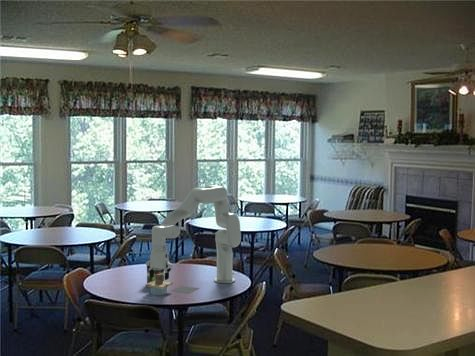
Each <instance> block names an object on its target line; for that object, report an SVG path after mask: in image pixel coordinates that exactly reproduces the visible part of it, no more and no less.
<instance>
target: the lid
mask: <svg viewBox="0 0 475 356" xmlns="http://www.w3.org/2000/svg"><path fill="white" fill-rule="evenodd" d="M172 285H174V284H173V281H168V280H164V281H163V274H156V275H155V281H152V282H150V283H148V284H147V283H145V284H144V286H145V288H146V287H147V288H151V287H152V288H159V289H163V288H166V287H167V288H168V287H171V286H172Z"/></svg>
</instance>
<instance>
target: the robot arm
mask: <svg viewBox="0 0 475 356" xmlns="http://www.w3.org/2000/svg"><path fill="white" fill-rule="evenodd" d="M227 196H228V191H227V189H226V187H224V186H222V185H214V184H208V185H205V186H204V188H201V187H194V188H192V189H191V190H190V191H189V193H188V194H187V195H186V197H185V198H184V200H183V201H182V202H181V203H180V205H178V207H176V208H175V209H174V210H173V211H171V212H170V213H168V215H167V216H166V217H165V218H164V219H163V220H162V222H160V225H153V226H152V228H151V251H150V256H149V259H148V260H149V261H148V260H146V262H145V266H146V269H147V268H148V269H149V271H150V278H152V277H154V270H153V269H154V268H156V269H164V281H168V280H169V278H170V272H171V270H173V269H172V268H174V267H173V266H174V265H173V264H172V263H171V262H170V259H169V253H168V252H169V251H168V246H167V245H166V243H167V242H166V241H167V240H166V239H176V238H178V237H180V234H181V229H180V227H179V226H178V225H176V224H177V223H178V222H180V221H181V220H185V219H186V218H189V217H191V216H193V214H194V212H195V211H196V209H197V208H198V207H199V206H200V204H212V203H213V206H214V213H215V214H214V215H215V223H216V225H217V226H218V227H220V228H221V229H219V230H217V231H216V233H215V237H214V238H215V246H216V277H214V279H213V281H214V282H215V283H217V284H232V283H235V280H236V279H235V278H234V277H233V276H234V275H235V271H233V248H237V247H239V245H240V244H241V240H242V231H241V224H240V223H241V222H240V218H239V217H238V215H237V214H236V213H233V212H231V211H230V206H229V200H228V198H227ZM149 263H150V265H149Z"/></svg>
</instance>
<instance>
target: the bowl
mask: <svg viewBox="0 0 475 356" xmlns="http://www.w3.org/2000/svg"><path fill="white" fill-rule="evenodd" d="M150 294H151V295H153V296H162V295H167V294H168V287H166V288H163V289H159V288H152V287H150Z"/></svg>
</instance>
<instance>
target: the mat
mask: <svg viewBox="0 0 475 356" xmlns="http://www.w3.org/2000/svg"><path fill="white" fill-rule="evenodd" d="M199 289H200V288H199V287H194V286H186V285H181V286H179V287H176V288H174V289H172V290H171V292H174V293H175V292H176V293H182V294H183V293H184V294H189V295H190V294H191V293H193V292H195V291H197V290H199Z"/></svg>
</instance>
